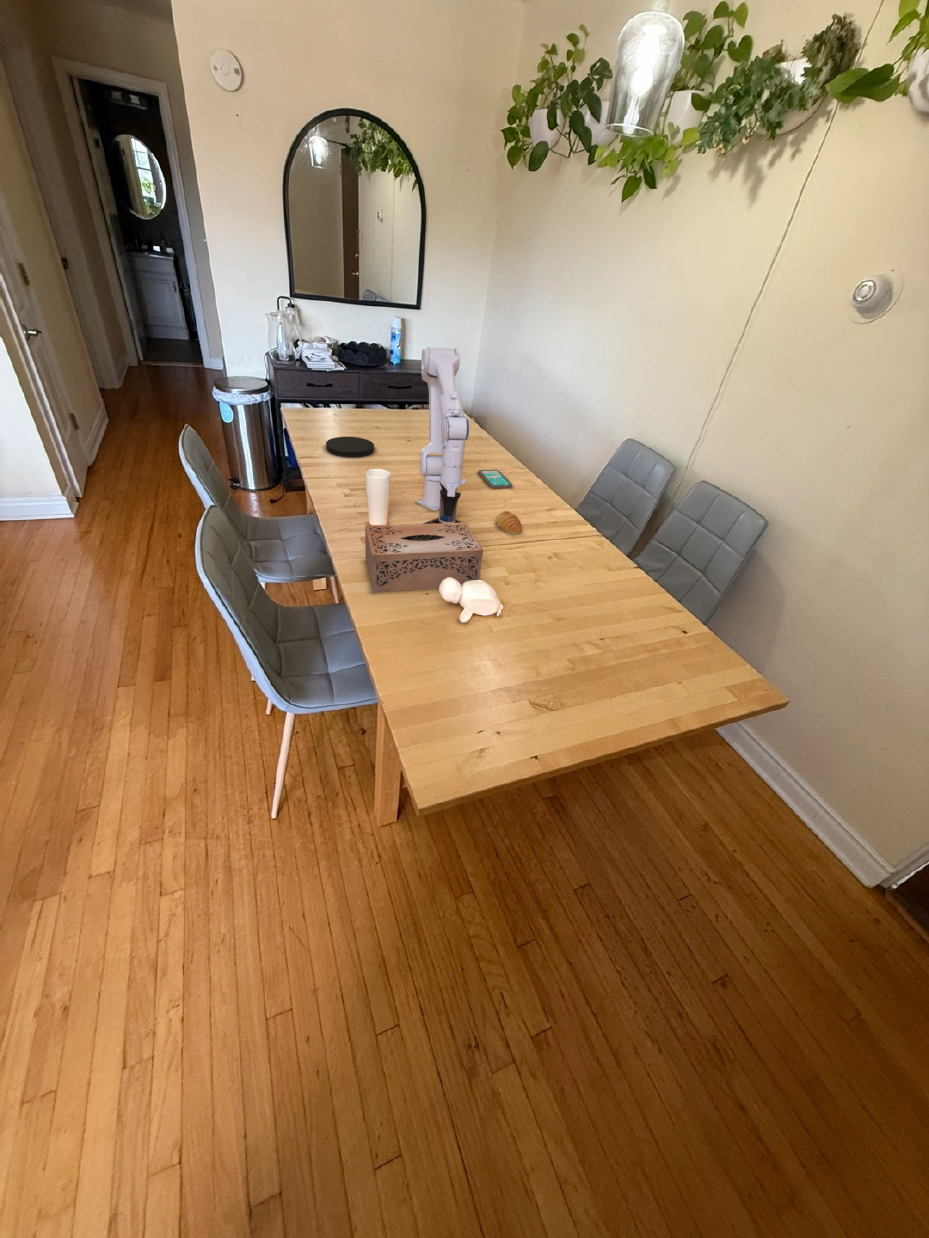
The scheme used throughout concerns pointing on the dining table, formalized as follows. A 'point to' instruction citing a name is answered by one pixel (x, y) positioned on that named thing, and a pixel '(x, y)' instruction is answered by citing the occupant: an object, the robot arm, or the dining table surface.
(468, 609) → the white turtle figurine
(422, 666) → the dining table surface
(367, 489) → the drinking glass
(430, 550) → the tissue box cover
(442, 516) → the cup
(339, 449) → the wireless charger
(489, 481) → the smartphone
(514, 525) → the pastry
